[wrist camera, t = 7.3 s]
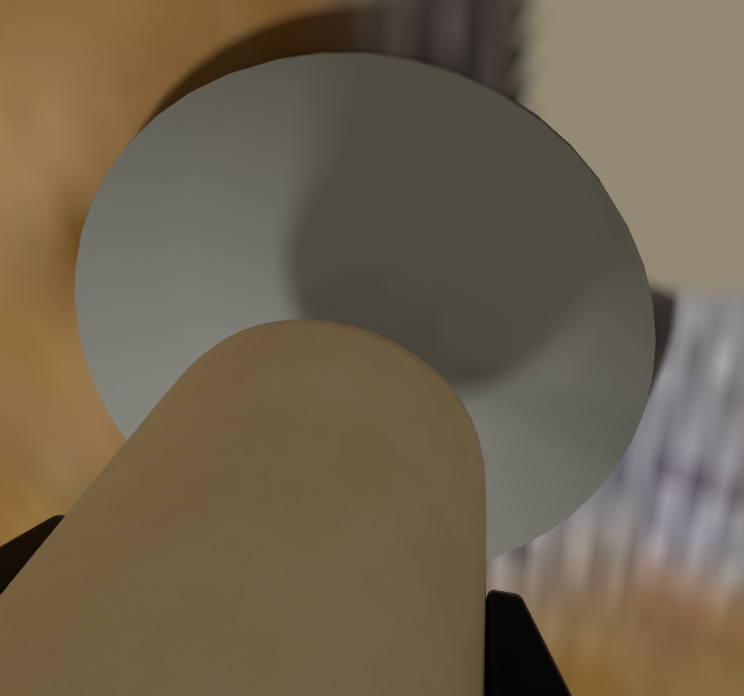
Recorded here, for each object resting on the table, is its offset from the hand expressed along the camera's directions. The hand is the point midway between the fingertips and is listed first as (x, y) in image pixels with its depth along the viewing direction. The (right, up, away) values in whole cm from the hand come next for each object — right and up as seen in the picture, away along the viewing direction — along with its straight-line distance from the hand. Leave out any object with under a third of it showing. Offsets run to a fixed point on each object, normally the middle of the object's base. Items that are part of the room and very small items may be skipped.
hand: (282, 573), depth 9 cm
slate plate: (+1, +3, +5) cm, 6 cm away
